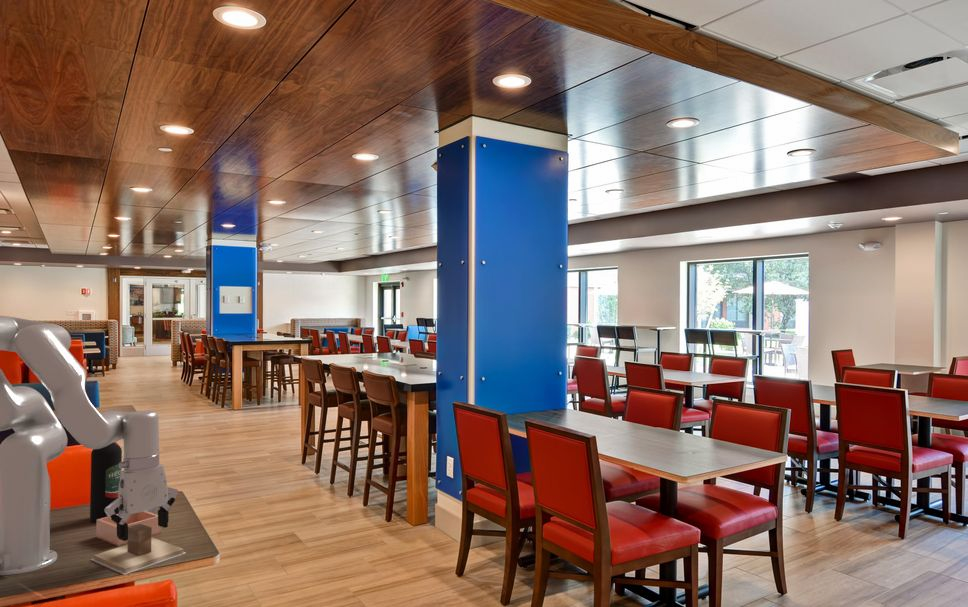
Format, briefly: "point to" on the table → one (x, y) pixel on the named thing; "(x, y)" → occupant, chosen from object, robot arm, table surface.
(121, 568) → the lid
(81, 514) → the table surface
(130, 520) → the pink open box
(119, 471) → the wine bottle
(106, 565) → the mat
